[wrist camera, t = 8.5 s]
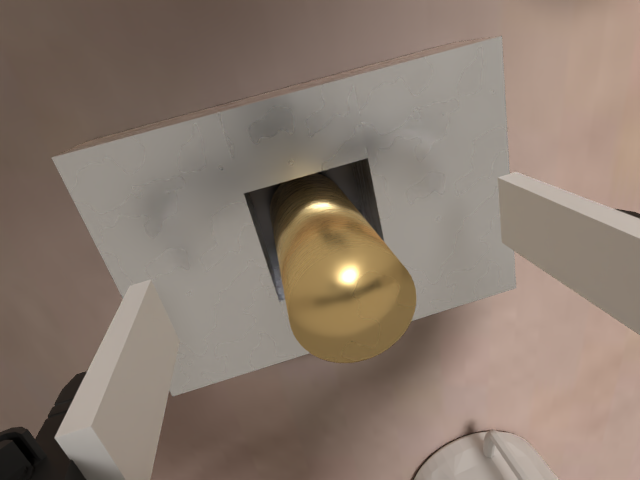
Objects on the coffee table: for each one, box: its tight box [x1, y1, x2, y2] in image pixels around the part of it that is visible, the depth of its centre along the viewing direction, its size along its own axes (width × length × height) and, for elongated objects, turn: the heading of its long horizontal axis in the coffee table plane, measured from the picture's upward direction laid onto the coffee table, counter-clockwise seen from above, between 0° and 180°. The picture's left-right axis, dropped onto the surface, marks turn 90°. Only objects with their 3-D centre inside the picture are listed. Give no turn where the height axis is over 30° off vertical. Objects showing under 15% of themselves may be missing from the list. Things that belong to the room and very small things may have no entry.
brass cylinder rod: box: [270, 173, 416, 363], centre depth 17 cm, size 4×4×10 cm
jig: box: [52, 36, 516, 397], centre depth 20 cm, size 12×18×4 cm, turn 104°
